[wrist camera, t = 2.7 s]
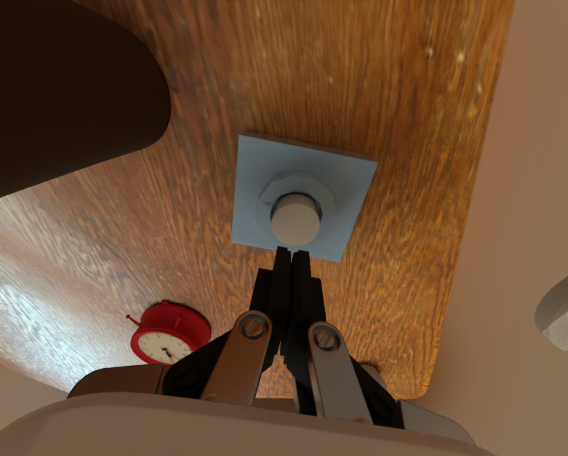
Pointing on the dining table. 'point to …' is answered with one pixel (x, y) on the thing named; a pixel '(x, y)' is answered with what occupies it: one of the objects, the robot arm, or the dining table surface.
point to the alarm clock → (168, 334)
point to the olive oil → (71, 92)
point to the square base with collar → (298, 191)
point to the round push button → (295, 220)
